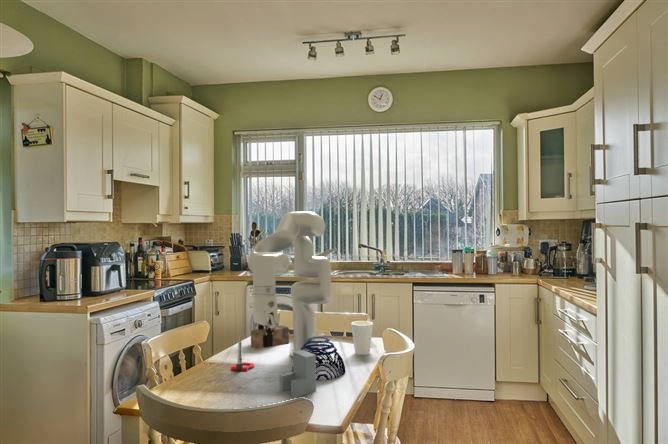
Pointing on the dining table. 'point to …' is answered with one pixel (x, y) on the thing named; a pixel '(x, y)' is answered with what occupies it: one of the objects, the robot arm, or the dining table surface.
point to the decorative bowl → (322, 352)
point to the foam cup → (362, 336)
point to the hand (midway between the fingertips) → (264, 344)
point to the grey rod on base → (240, 364)
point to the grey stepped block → (300, 374)
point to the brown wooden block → (278, 337)
